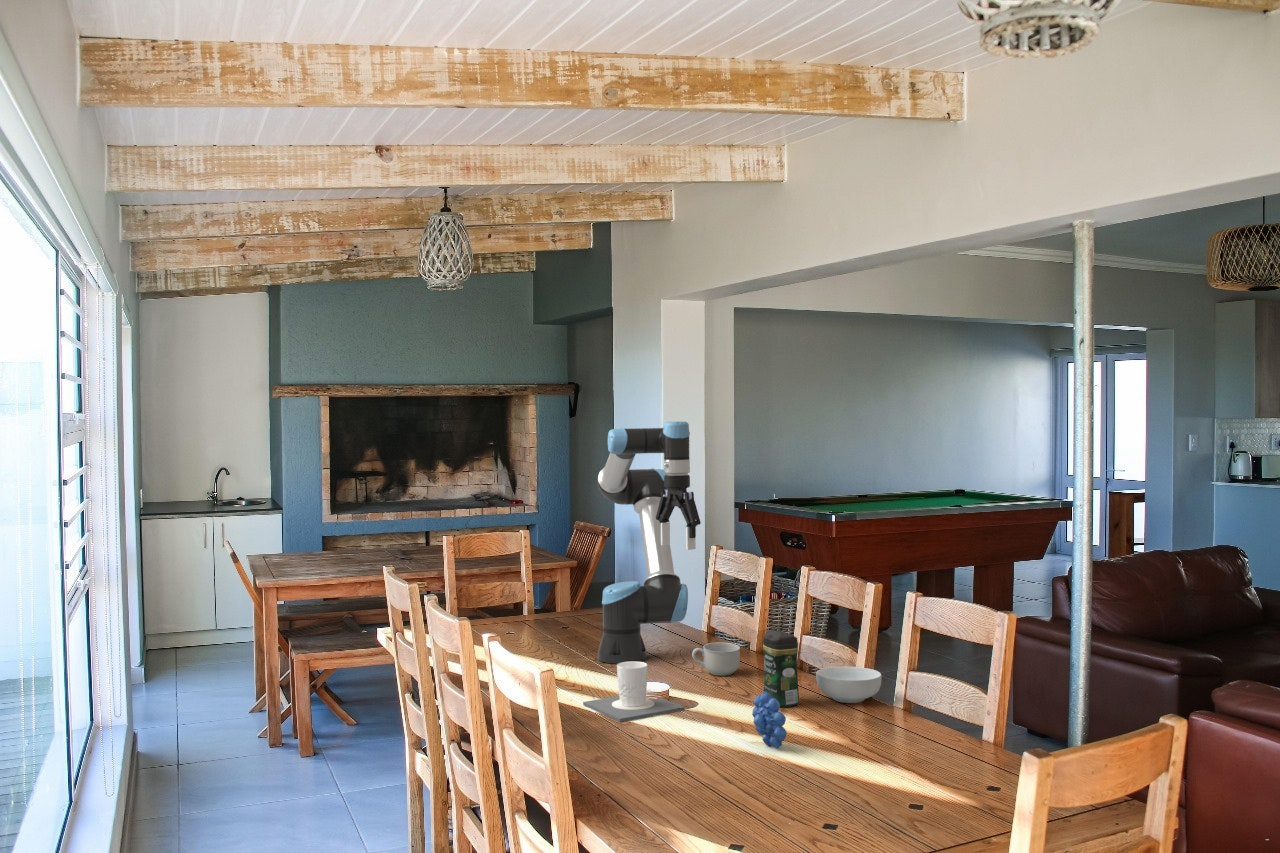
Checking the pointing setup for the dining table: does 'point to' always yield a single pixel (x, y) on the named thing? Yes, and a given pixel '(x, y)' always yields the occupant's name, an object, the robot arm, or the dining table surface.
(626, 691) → the white cup
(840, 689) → the cereal bowl
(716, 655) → the teacup
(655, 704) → the mat
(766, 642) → the coffee jar
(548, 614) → the dining table surface
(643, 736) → the dining table surface
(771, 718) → the grapes
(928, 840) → the dining table surface
